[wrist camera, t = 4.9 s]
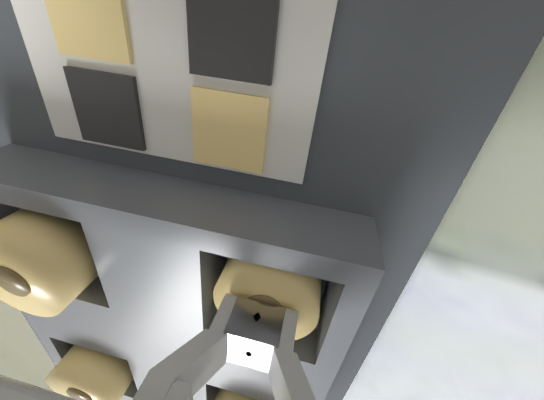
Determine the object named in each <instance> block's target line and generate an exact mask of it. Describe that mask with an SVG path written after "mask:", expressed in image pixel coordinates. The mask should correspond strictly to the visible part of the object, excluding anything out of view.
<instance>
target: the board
mask: <svg viewBox="0 0 544 400" xmlns="http://www.w3.org/2000/svg"><path fill="white" fill-rule="evenodd" d="M543 36H544V0H0V220H1V219H2V218H4V217H6V216H8V215H10V214H12V213H14V212H16V211H17V210H19V209H21V208H22V209H26V210H30V211H34V212H39V213H43V214H47V215H51V216H56V217H60V218H64V219H68V220H73V221H77V222H81V225H82V228H83V231H84V234H85V237H86V240H87V243H88V246H89V249H90V252H91V255H92V257H93V260H94V263H95V266H96V269H97V272H98V275H99V276H98V277H97V278H95V279H94V280H93V281H92V282H91V283H90V284H89V285H88V286H87V287H86V288H85V289H84V290H83V291H82V292H81V293H80V294H79V295H78V296H77V297H76V298H75V299H74V300H73V301H72V302H71V303H70V304H69V305H68V306H67V307H66V308H65V309H64V310H63V311H62V312H61V313H60V314H59V315H57V316H53V317H40V316H35V315H32V314H29V313H26V312H23V311H21V312H22V314H23V315H24V317H25V318H26V320H27V322H28V323H29V325H30V326H31V328H32V330H33V331H34V333H35V334H36V336H37V338H38V339H39V341H40V342H41V344H42V346H43V347H44V349H45V350H46V352H47V354H48V355H49V357H50V358H51V360H52V362H53V363H54V365H55V366H56V365H57V364H58V363H59V362H60V360H61V359H62V358H63V357H64V356H65V355H66V353H67V352H68V351H69V350H70V349H71V348H72V347H73V345H77V346H81V347H84V348H87V349H91V350H94V351H97V352H101V353H104V354H107V355H111V356H114V357H117V358H121V359H124V360H127V361H128V364H129V367H130V370H131V372H132V375H133V380H132V382H131V383H130V385H129V387H128V388H127V390H126V392H125V393H124V395H123V397H122V398H121V400H132V399H133V398H134V396H135V394H136V393H137V391H138V389H139V387H140V386H141V384H142V382H143V380H144V379H145V377H146V375H147V373H148V372H149V370H150V369H151V368H153V367H154V366H155V365H157V364H158V363H160V362H161V361H162V360H164V359H165V358H166V357H168V356H169V355H170V354H172V353H173V352H174V351H176V350H177V349H179V348H180V347H181V346H183V345H184V344H185V343H187V342H188V341H189V340H191V339H192V338H193V337H195V336H196V335H198V334H199V333H200V332H202V331H203V330H204V329H210V326H211V324H212V322H213V320H214V317H215V315H216V313H217V311H218V310H217V308H216V306H215V303H214V299H213V291H214V287H215V285H216V283H217V281H218V279H219V277H220V275H221V273H222V271H223V269H224V267H225V265H226V263H227V261H228V259H229V258H233V259H238V260H242V261H246V262H250V263H255V264H259V265H263V266H267V267H272V268H276V269H280V270H284V271H289V272H293V273H297V274H301V275H305V276H310V277H314V278H318V279H322V282H321V298H320V313H319V321H318V324H317V326H316V327H315V329H314V330H313V331H312V332H311V333H310V334H308V335H307V336H305V337H303V338H301V339H298V340H295V341H294V348H293V352H294V353H297V355H298V358H299V360H300V362H301V365H302V367H303V370H304V372H305V374H306V377H307V379H308V382H309V384H310V387H311V389H312V391H313V394H314V396H315V399H316V400H342V399H343V398H344V396H345V394H346V392H347V390H348V389H349V387H350V385H351V383H352V381H353V379H354V378H355V376H356V374H357V372H358V370H359V369H360V367H361V365H362V363H363V361H364V360H365V358H366V356H367V354H368V352H369V351H370V349H371V347H372V345H373V343H374V341H375V340H376V338H377V336H378V334H379V332H380V331H381V329H382V327H383V325H384V323H385V322H386V320H387V318H388V316H389V314H390V313H391V311H392V309H393V307H394V305H395V303H396V302H397V300H398V298H399V296H400V294H401V293H402V291H403V289H404V287H405V285H406V284H407V282H408V280H409V278H410V276H411V275H412V273H413V271H414V269H415V267H416V265H417V264H418V262H419V260H420V258H421V256H422V255H423V253H424V251H425V249H426V247H427V246H428V244H429V242H430V240H431V238H432V237H433V235H434V233H435V231H436V229H437V227H438V226H439V224H440V222H441V220H442V218H443V217H444V215H445V213H446V211H447V209H448V208H449V206H450V204H451V202H452V200H453V199H454V197H455V195H456V193H457V191H458V189H459V188H460V186H461V184H462V182H463V180H464V179H465V177H466V175H467V173H468V171H469V170H470V168H471V166H472V164H473V162H474V161H475V159H476V157H477V155H478V153H479V151H480V150H481V148H482V146H483V144H484V142H485V141H486V139H487V137H488V135H489V133H490V132H491V130H492V128H493V126H494V124H495V123H496V121H497V119H498V117H499V115H500V113H501V112H502V110H503V108H504V106H505V104H506V103H507V101H508V99H509V97H510V95H511V94H512V92H513V90H514V88H515V86H516V85H517V83H518V81H519V79H520V77H521V75H522V74H523V72H524V70H525V68H526V66H527V65H528V63H529V61H530V59H531V57H532V56H533V54H534V52H535V50H536V48H537V47H538V45H539V43H540V41H541V39H542V37H543ZM219 388H221V389H225V390H228V391H231V392H235V393H238V394H241V395H245V396H248V397H251V398H255V399H258V400H275V398H274V395H273V391H272V387H271V383H270V379H269V376H268V373H265V372H262V371H259V370H256V369H253V368H249V367H246V366H242V365H238V364H234V363H230V362H226V364H225V365H224V366H223V367H222V368H221V369H220V370H219V371H218V372H217V373H216V374H215V375H214V376H213V377H212V378H211V379H210V380H209V381H208V382H207V383H206V384H205V385H204V386H203V387H202V388H201V389H200V390H199V391H198V392H197V393H196V394H195V395H194V396H193V400H215V398H216V395H217V392H218V389H219Z"/></svg>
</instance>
